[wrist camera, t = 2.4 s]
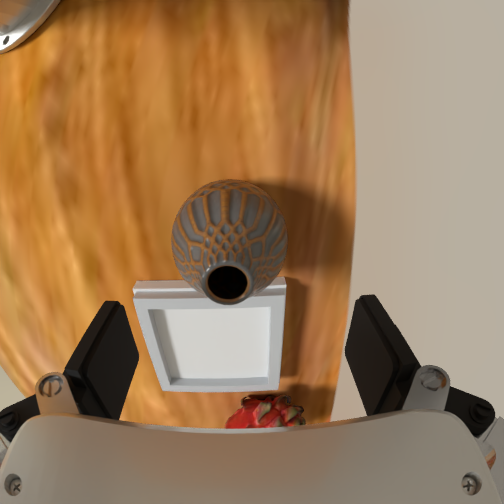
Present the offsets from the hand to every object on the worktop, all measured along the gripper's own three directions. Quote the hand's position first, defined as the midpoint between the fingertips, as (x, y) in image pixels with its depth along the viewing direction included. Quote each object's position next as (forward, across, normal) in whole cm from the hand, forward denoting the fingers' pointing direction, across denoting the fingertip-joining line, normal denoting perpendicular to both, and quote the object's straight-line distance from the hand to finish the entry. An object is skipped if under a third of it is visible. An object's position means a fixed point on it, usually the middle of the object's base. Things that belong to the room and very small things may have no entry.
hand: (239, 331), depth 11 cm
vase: (+11, +1, -1) cm, 11 cm away
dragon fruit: (+12, -2, +22) cm, 25 cm away
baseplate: (+11, +3, +10) cm, 15 cm away
